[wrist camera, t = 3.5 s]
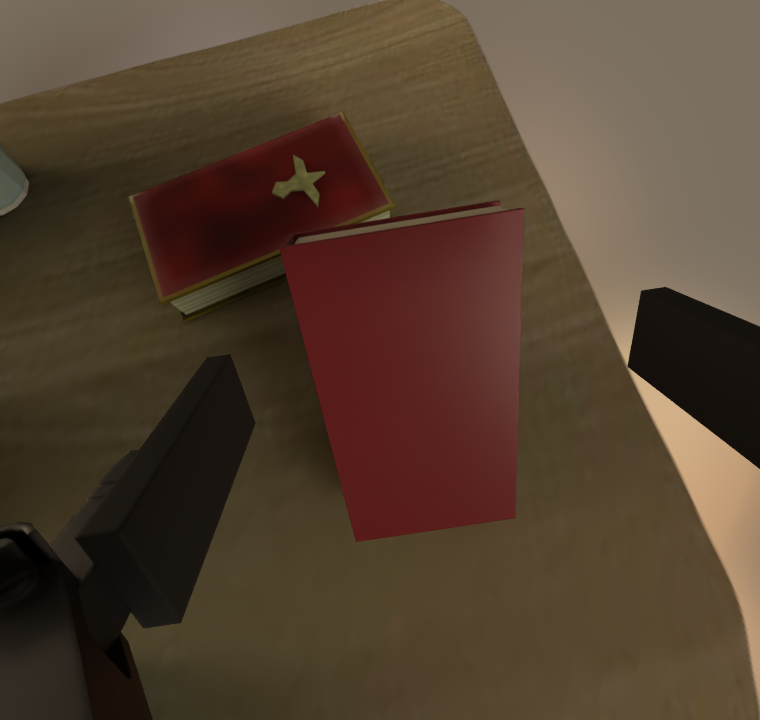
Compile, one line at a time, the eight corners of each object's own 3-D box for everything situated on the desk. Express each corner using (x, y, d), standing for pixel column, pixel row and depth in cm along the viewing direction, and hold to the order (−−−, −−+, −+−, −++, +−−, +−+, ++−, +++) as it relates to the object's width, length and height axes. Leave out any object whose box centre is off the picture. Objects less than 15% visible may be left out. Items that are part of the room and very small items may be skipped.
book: (290, 233, 20) (278, 247, 17) (498, 200, 20) (524, 208, 17) (355, 502, 30) (355, 542, 27) (498, 480, 30) (515, 518, 26)
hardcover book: (154, 221, 39) (125, 191, 35) (347, 143, 40) (341, 105, 36) (185, 321, 35) (157, 301, 31) (396, 232, 37) (395, 202, 33)
